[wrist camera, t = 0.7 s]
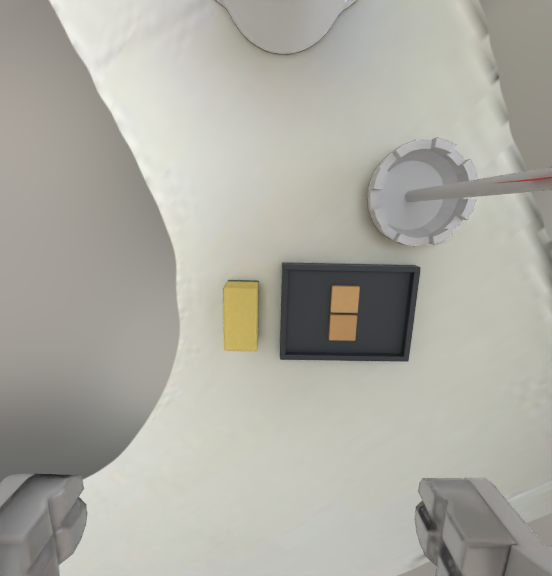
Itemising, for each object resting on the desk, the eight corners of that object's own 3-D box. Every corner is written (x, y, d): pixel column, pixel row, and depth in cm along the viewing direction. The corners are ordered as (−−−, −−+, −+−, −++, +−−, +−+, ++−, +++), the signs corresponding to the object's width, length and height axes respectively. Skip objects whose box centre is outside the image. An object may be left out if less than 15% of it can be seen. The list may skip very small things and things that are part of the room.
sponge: (228, 280, 47) (223, 287, 42) (258, 280, 47) (257, 288, 42) (229, 337, 49) (224, 350, 44) (258, 337, 49) (256, 351, 44)
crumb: (329, 313, 47) (330, 315, 47) (356, 313, 47) (357, 315, 47) (328, 338, 48) (328, 340, 48) (353, 338, 48) (355, 340, 48)
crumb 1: (331, 285, 46) (332, 286, 46) (358, 285, 46) (360, 286, 46) (329, 310, 47) (330, 312, 47) (356, 311, 47) (357, 313, 47)
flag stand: (455, 141, 43) (854, -15, 13) (452, 238, 46) (772, 283, 16) (359, 151, 43) (546, 16, 14) (362, 247, 46) (520, 306, 17)
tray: (282, 262, 46) (282, 264, 44) (415, 265, 46) (420, 267, 45) (279, 354, 50) (280, 359, 48) (403, 356, 50) (408, 361, 48)
